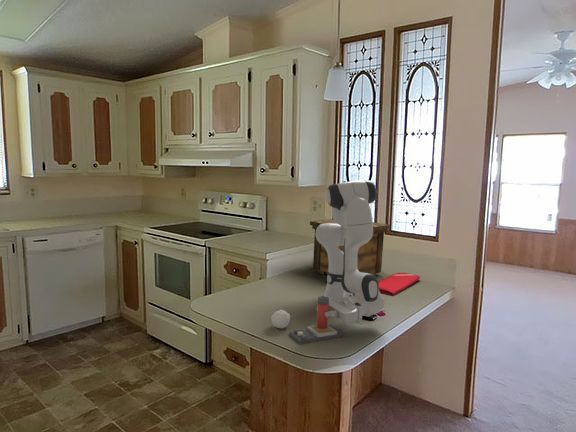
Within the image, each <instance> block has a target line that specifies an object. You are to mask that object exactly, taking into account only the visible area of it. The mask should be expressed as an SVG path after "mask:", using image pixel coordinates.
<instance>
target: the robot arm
mask: <svg viewBox="0 0 576 432" xmlns="http://www.w3.org/2000/svg"><path fill="white" fill-rule="evenodd" d="M377 191H378V190H377V187H376V185H375V183H374V182H373V181H372V180H368V179H367V180H365V179H364V180H351V181H345V182H344V181H343V182H340V183H334V184H333V183H332V184H330V185H328V187H327V189H326V193H325V197H326V198H325V199H326V201H327V204H328V205H329V206H330V207H331V219H334V221H335V222H336V223H326V224H320V225H319V226H318V227H317V229H316V239H317V240H318V242H319V243H320V244H322V245H323V246H324V248H325V249H326V251H327V254H328V262H329V266H328V271H327V274H326V282H327V283H326V288H325V292H324V295H323V296H324V297H328V298H329V310H328V311H324V315H325V316H326V317H328V318H329V317H332V318H337V319H338V320H340V321H341V322H343V323H347V324H348V323H349V324H350V323H351V324H352V323H356V322H357V323H361V322H362V320H363V316H364V317H367V316H372V315H376V314H379V313H380V312H381V311H382V310H383V309H384V308H385V299H384V296H383V295H382V293H380V292H379V283H378V282H379V279H378V278H377V276H374V275H372V274H368V273H362V272H359V270H358V268H357V253H358V249H359V248H360V247H361V246H362V245H364V244H366V243H367V242H369V241H370V239H371V238H372V236H373V215H372V210H371V206H370V204H372V203H374V201H376V198H377V193H378V192H377ZM339 246H344V252H343V251H341V250H340V249H339ZM317 309H318V305H317V306H316V309H315V310H316V311H317Z"/></svg>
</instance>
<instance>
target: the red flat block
mask: <svg viewBox="0 0 576 432" xmlns="http://www.w3.org/2000/svg"><path fill="white" fill-rule="evenodd" d="M420 279H421V276H420V275H418V274H412V273H408V272H396V273H393V274H391V275H389V276H387V277H385V278H383V279H381V280H378V283H379V292H380V294H383V295H388V296H395V295H397V294H398V293H400V292H402V291H404V290H405V289H407V288H408V287H410V286H412V285H413V284H415V283H416V282H417V281H419V280H420Z"/></svg>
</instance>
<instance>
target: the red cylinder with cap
mask: <svg viewBox="0 0 576 432" xmlns="http://www.w3.org/2000/svg"><path fill="white" fill-rule="evenodd" d="M317 306H318V309H317V310H316V311H317V312H316V316H317V317H316V325H317V328H319V329H327V328H328V325H329V324H328V323H329V316H328V317H326V316H325V315H324V311H328V310H329V298H328V297H324V295H323V296H318V297H317Z"/></svg>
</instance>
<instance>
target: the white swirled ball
mask: <svg viewBox="0 0 576 432" xmlns="http://www.w3.org/2000/svg"><path fill="white" fill-rule="evenodd" d="M270 321H271V323H272V325H273V326H274V327H275V328H277V329H285V328H286V327H288V325H289V324H290V321H291V315H290V313H288V311H286V310H283V309H279V310H276V311H274V313H272V314H271V317H270Z"/></svg>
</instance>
